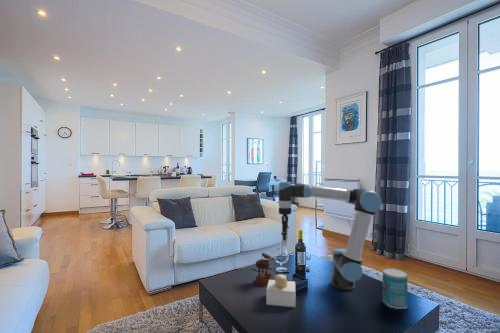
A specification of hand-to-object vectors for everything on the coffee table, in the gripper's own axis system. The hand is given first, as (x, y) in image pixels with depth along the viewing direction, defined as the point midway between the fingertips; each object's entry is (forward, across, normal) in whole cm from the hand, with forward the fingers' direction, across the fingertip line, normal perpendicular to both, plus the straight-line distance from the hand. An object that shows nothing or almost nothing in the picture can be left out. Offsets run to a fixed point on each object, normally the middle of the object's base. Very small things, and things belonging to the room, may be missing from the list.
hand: (285, 242), depth 156 cm
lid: (+23, +8, -2) cm, 25 cm away
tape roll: (+23, +8, -2) cm, 24 cm away
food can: (+32, +1, +61) cm, 69 cm away
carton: (+32, +8, -2) cm, 33 cm away
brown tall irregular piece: (+32, -13, -16) cm, 38 cm away
